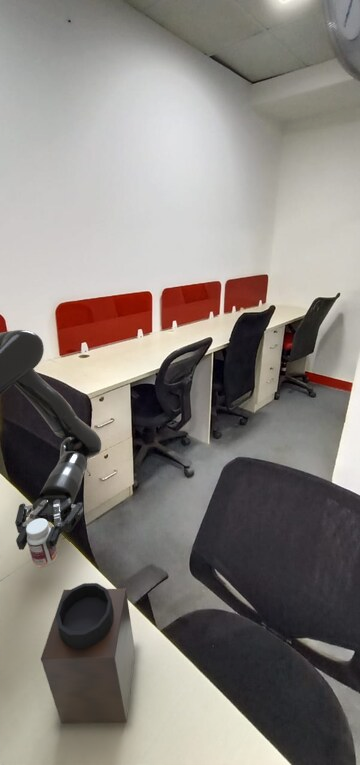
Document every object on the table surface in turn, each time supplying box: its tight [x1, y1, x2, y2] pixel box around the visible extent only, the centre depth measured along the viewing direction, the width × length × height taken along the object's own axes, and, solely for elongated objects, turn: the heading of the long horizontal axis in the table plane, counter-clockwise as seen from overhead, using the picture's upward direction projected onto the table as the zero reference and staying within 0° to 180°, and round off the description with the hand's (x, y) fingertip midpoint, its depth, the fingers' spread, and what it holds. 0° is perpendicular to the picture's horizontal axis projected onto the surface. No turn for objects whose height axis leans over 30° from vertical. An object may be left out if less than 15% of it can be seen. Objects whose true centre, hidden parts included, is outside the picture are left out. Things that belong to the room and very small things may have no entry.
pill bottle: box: [26, 518, 58, 568], centre depth 70 cm, size 5×5×8 cm
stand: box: [40, 588, 136, 724], centre depth 55 cm, size 10×10×16 cm
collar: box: [55, 582, 114, 649], centre depth 52 cm, size 8×8×3 cm
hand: (34, 546), depth 67 cm, fingers closed on pill bottle, 4 cm apart
